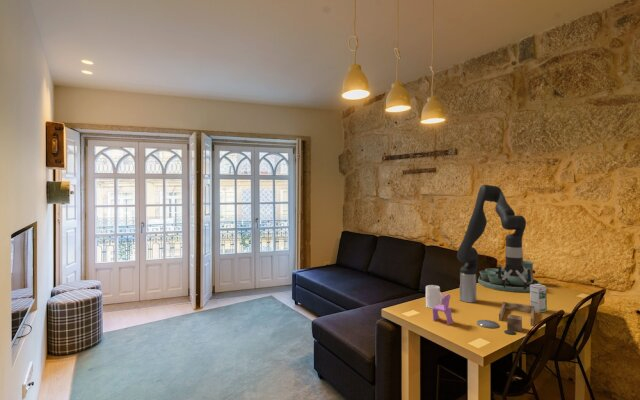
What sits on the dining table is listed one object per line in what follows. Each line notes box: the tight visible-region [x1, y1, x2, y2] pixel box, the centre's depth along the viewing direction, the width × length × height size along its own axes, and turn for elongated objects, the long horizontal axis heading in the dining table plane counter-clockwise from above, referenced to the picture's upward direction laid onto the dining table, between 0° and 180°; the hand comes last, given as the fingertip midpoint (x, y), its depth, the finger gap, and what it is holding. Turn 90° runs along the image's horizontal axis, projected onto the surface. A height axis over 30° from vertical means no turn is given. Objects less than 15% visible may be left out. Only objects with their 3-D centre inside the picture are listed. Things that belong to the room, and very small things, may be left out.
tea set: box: [477, 259, 542, 293], centre depth 250 cm, size 40×40×16 cm
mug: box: [424, 284, 445, 310], centre depth 203 cm, size 8×12×12 cm
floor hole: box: [503, 330, 517, 336], centre depth 165 cm, size 5×5×1 cm
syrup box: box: [529, 283, 548, 313], centre depth 195 cm, size 6×6×14 cm
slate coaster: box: [476, 319, 499, 329], centre depth 176 cm, size 10×10×1 cm
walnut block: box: [506, 313, 523, 333], centre depth 170 cm, size 6×6×6 cm
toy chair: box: [432, 293, 454, 326], centre depth 181 cm, size 8×9×15 cm
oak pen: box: [498, 301, 536, 327], centre depth 187 cm, size 15×23×4 cm, turn 147°
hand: (514, 288), depth 171 cm, fingers open, 8 cm apart
